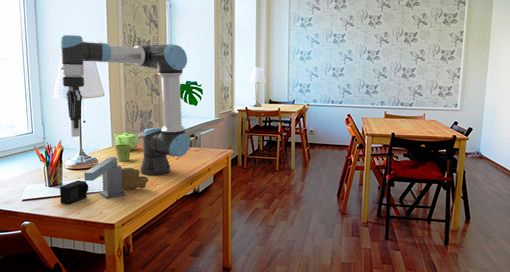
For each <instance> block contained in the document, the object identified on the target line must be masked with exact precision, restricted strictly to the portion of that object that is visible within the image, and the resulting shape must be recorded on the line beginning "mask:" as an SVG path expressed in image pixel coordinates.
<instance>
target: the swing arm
mask: <svg viewBox="0 0 510 272" xmlns="http://www.w3.org/2000/svg"><path fill="white" fill-rule="evenodd" d="M116 165H118V156H107V157H106V158H105V159H104V160H103V161H101V162H99V163H97V164H96V165H93V166H92V167H91V168H90V169H88V170H86V171H84V181H86V182H88V181H89V182H90V181H91V182H92V181H95V180H96V179H98V178H99V177H101V176H103V173H105V172H106V171H108V170H109V169H110V168H112V167H113V166H116Z"/></svg>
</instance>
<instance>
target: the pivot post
mask: <svg viewBox="0 0 510 272" xmlns="http://www.w3.org/2000/svg"><path fill="white" fill-rule="evenodd" d="M99 194H100V195H101V196H103V197H104V198H105V199H111V198H112V199H113V198H118V197H123V196H124V197H125V196H126V192H124V191H123V189H122V166H121V165H120V164H117V165H116V166H113V167H112V168H110V169H109V170H108V171H106V172H105V173H103V174H102V190H101V191H99Z"/></svg>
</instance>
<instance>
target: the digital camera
mask: <svg viewBox="0 0 510 272" xmlns="http://www.w3.org/2000/svg"><path fill="white" fill-rule="evenodd" d="M59 190H60V191H59V194H60V196H59V197H60V204H64V205H70V206H71V205H72V204H74V203H77V202H79V201H81V200H84V199H86V198H87V197H88V196H87V195H88V192H89V185H88V183H87V181H85V180H75V181H73V182H70V183H67V184H64V185H61V186H59Z"/></svg>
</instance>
